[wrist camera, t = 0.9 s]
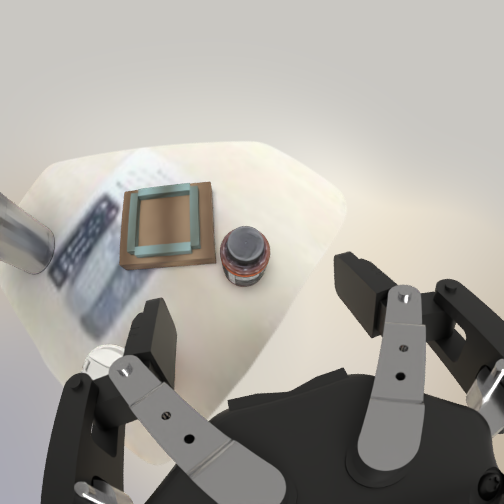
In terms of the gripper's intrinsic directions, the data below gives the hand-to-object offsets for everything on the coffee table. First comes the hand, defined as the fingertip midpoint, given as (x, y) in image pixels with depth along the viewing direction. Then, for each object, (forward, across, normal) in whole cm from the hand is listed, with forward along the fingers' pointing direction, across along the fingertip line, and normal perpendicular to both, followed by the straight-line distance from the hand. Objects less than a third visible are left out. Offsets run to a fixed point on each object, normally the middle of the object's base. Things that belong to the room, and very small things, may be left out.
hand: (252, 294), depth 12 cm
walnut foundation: (+31, +9, +5) cm, 32 cm away
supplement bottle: (+26, -1, +12) cm, 28 cm away
